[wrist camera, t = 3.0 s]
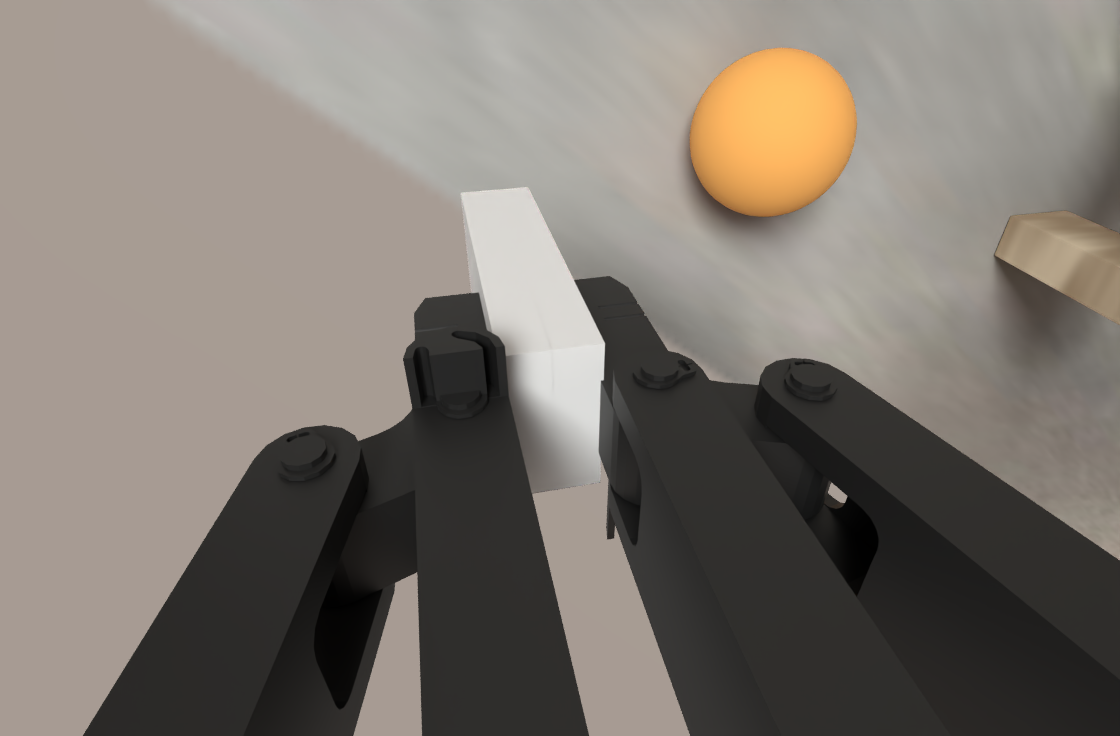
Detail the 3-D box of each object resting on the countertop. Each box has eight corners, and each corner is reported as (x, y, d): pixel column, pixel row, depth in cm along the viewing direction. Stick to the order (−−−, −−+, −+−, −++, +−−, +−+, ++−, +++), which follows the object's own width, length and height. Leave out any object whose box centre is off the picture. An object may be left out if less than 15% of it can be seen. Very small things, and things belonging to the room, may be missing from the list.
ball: (818, 33, 23) (916, 58, 18) (789, 182, 26) (866, 233, 22) (675, 40, 22) (741, 67, 18) (662, 192, 25) (715, 248, 21)
